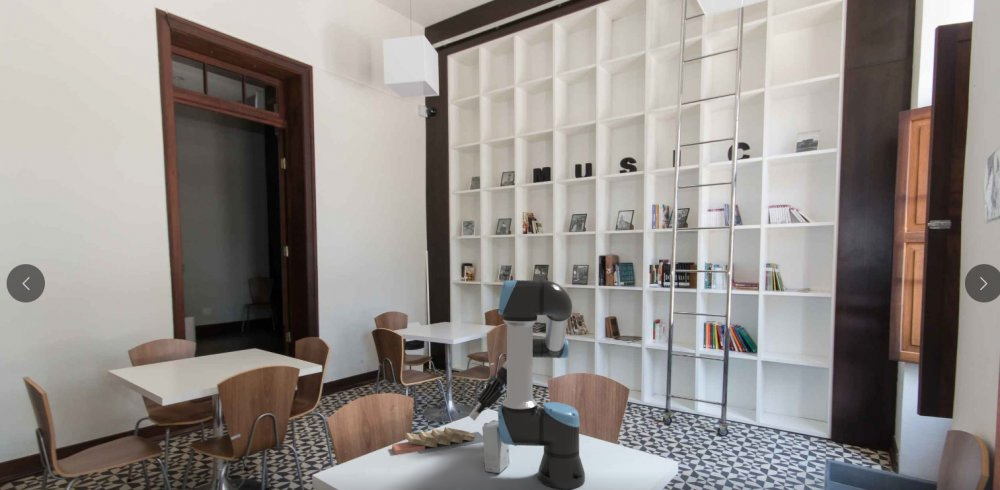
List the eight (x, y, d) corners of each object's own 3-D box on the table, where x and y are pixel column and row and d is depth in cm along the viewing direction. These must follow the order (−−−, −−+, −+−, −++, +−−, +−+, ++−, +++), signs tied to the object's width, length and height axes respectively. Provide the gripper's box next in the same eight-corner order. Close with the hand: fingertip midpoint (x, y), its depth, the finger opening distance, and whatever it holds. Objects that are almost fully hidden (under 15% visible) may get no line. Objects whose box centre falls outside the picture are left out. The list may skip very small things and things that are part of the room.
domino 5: (469, 431, 180) (445, 427, 176) (474, 437, 175) (449, 432, 170) (468, 435, 180) (443, 431, 176) (473, 441, 174) (448, 436, 170)
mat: (478, 432, 184) (478, 431, 184) (488, 442, 175) (488, 441, 175) (411, 443, 173) (411, 442, 173) (419, 454, 163) (419, 453, 163)
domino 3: (445, 435, 176) (420, 430, 172) (450, 441, 170) (424, 436, 166) (444, 439, 176) (418, 434, 171) (449, 445, 170) (423, 440, 166)
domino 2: (432, 437, 174) (406, 432, 169) (437, 443, 168) (410, 438, 164) (431, 441, 173) (405, 436, 169) (436, 447, 168) (409, 442, 164)
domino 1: (420, 439, 172) (392, 444, 167) (425, 445, 166) (395, 450, 161) (420, 444, 171) (392, 448, 167) (424, 449, 166) (395, 455, 161)
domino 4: (457, 433, 178) (432, 428, 174) (462, 439, 173) (437, 434, 168) (456, 437, 178) (431, 433, 173) (461, 443, 172) (435, 438, 168)
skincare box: (500, 474, 147) (497, 428, 148) (484, 471, 149) (481, 426, 151) (510, 463, 155) (507, 420, 156) (494, 461, 157) (492, 418, 158)
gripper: (521, 381, 181) (483, 429, 173) (507, 374, 192) (471, 418, 184) (510, 369, 179) (471, 417, 171) (496, 363, 190) (459, 407, 182)
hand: (471, 418), depth 178 cm, fingers closed
